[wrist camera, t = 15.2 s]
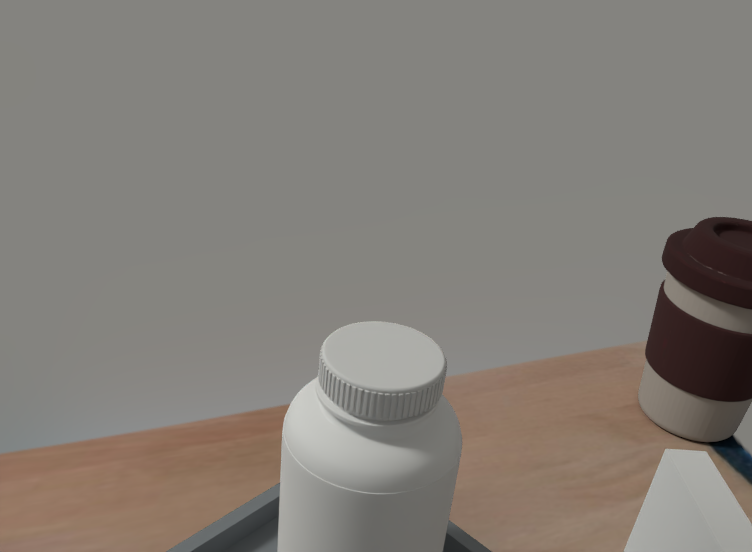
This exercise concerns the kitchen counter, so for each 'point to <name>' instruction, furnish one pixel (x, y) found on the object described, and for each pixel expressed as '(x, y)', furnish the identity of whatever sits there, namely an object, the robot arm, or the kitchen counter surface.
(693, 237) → the coffee cup
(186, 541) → the tray
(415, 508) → the pill bottle
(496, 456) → the kitchen counter surface
